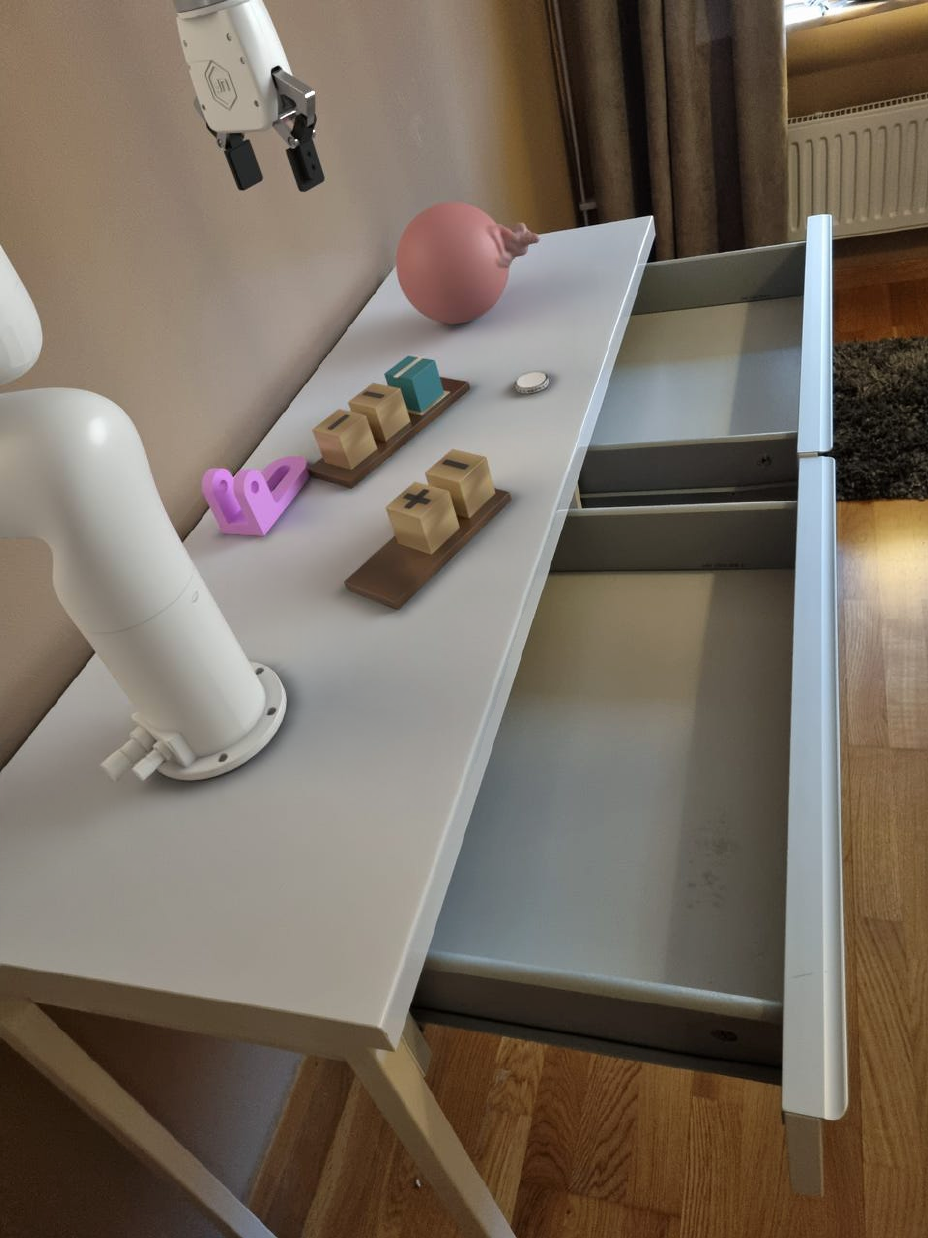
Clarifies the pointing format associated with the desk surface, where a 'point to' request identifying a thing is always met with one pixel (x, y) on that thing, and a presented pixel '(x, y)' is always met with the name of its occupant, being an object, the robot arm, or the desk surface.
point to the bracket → (253, 495)
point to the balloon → (457, 261)
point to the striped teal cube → (416, 381)
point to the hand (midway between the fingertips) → (281, 185)
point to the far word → (373, 430)
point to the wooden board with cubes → (430, 527)
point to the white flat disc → (531, 382)
